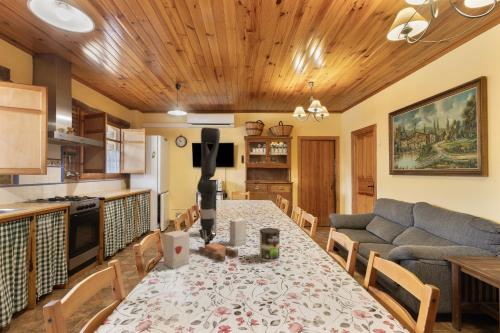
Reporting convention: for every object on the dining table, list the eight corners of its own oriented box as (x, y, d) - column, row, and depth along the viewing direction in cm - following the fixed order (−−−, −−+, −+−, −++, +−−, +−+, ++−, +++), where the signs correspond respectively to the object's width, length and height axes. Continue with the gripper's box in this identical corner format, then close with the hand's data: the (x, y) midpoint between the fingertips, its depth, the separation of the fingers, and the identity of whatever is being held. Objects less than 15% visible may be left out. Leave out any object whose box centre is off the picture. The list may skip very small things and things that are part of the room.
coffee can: (283, 259, 130) (283, 231, 130) (266, 262, 126) (266, 233, 126) (272, 253, 140) (272, 227, 140) (255, 256, 135) (255, 229, 135)
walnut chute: (198, 252, 140) (198, 245, 140) (214, 248, 147) (214, 241, 147) (222, 262, 126) (222, 254, 126) (238, 257, 133) (238, 249, 133)
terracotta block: (205, 252, 139) (205, 245, 139) (213, 249, 144) (213, 242, 144) (216, 257, 132) (216, 249, 132) (225, 254, 137) (225, 246, 137)
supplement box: (173, 269, 117) (173, 236, 117) (162, 264, 123) (162, 233, 123) (190, 264, 124) (190, 232, 124) (179, 259, 130) (179, 229, 130)
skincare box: (240, 241, 160) (240, 217, 160) (246, 244, 155) (246, 219, 155) (229, 244, 155) (229, 219, 155) (235, 247, 150) (235, 221, 150)
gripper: (194, 216, 145) (194, 247, 145) (208, 219, 136) (208, 252, 136) (205, 214, 150) (205, 244, 150) (220, 217, 141) (220, 249, 141)
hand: (207, 248), depth 143 cm, fingers closed
